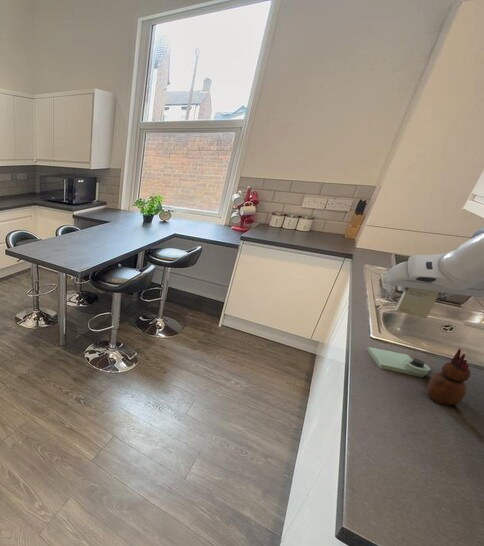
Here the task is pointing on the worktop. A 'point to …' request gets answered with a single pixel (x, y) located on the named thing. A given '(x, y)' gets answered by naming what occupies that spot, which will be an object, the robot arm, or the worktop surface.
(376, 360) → the kitchen scale
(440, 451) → the worktop surface
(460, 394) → the wooden figurine
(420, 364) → the tare button
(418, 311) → the cosmetic box
